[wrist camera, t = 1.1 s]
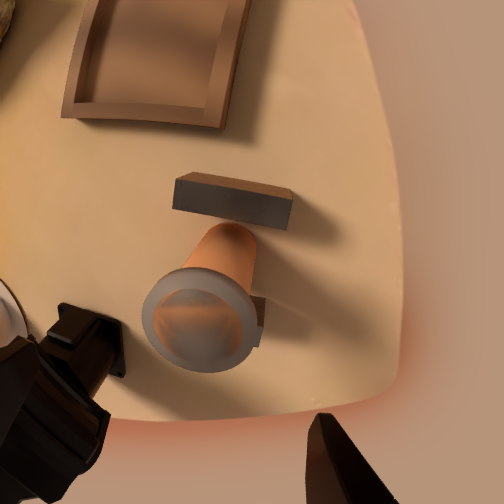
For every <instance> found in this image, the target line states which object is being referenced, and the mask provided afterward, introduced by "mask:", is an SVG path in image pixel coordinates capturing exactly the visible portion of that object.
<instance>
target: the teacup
mask: <svg viewBox="0 0 504 504" xmlns="http://www.w3.org/2000/svg"><path fill="white" fill-rule="evenodd" d="M18 335H19V336H21V337H25V338H27V337H28V333H27V328H26V324H25V321H24V318H23V316H22V313H21V311H20V309H19V307H18V305H17V303H16V301H15V300H14V298H13V297H12V295H11V294H10V292H9V291H8V289H7V288H6V287H5V286H4V284H3V283H2V282H1V281H0V348H1V347H4V346H6V345H8V344H9V343H10V342H11V341H12V340H13V339H14V338H15V337H17V336H18Z"/></svg>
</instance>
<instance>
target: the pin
mask: <svg viewBox="0 0 504 504" xmlns="http://www.w3.org/2000/svg"><path fill="white" fill-rule="evenodd" d="M256 253H257V247H256V243H255V240H254V238H253V236H252V235H251V233H250V232H249V231H248V230H247V229H245V228H244V227H242V226H240V225H238V224H234V223H221V224H218V225H216V226H214V227H212V228H211V229H210V230H209V231H208V232H207V233H206V235H205V236H204V237H203V239H202V240H201V242H200V243H199V244H198V246H197V247H196V249H195V250H194V252H193V253H192V254H191V256H190V257H189V259H188V260H187V262H186V263H185V264H184V266H183V267H182V268H181V269H177V270H175V271H172V272H170V273H168V274H167V275H165V276H164V277H163V278H161V279H160V280H159V281H158V282H157V284H156V285H155V286H154V287H153V289H152V290H151V291H150V293H149V294H148V296H147V297H146V299H145V301H144V304H143V308H142V324H143V328H144V331H145V334H146V336H147V338H148V340H149V341H150V343H151V344H152V346H153V347H154V348H155V349H156V350H157V351H158V352H159V353H160V354H161V355H162V356H163V357H165V358H166V359H167V360H169V361H170V362H172V363H173V364H175V365H177V366H179V367H182V368H185V369H187V370H191V371H196V372H203V373H214V372H221V371H225V370H228V369H231V368H233V367H235V366H237V365H238V364H240V363H241V362H243V361H244V360H245V359H246V358H247V356H248V355H249V354H250V353H251V351H252V349H253V347H254V344H255V339H256V332H257V313H256V309H255V306H254V304H253V302H252V300H251V298H250V290H251V284H252V278H253V272H254V266H255V260H256Z"/></svg>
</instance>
